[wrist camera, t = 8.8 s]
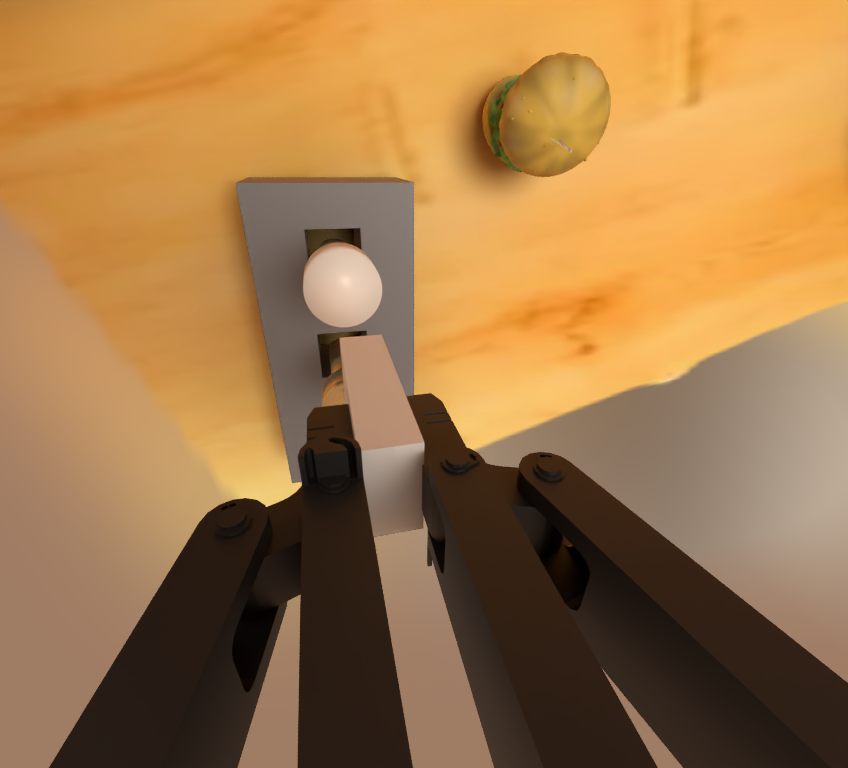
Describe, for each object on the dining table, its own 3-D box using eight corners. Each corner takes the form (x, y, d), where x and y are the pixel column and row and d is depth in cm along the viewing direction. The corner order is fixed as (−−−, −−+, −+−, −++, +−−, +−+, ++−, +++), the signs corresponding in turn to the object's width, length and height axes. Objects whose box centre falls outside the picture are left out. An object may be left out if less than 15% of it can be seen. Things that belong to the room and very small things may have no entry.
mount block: (294, 440, 46) (292, 483, 40) (248, 177, 33) (235, 182, 27) (401, 426, 48) (414, 464, 42) (396, 177, 36) (413, 182, 30)
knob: (308, 284, 32) (308, 330, 24) (301, 225, 30) (297, 251, 22) (365, 281, 33) (383, 324, 25) (361, 223, 31) (380, 249, 23)
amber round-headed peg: (322, 373, 36) (325, 438, 28) (316, 330, 34) (319, 387, 26) (368, 369, 37) (384, 431, 29) (365, 326, 35) (382, 380, 27)
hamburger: (564, 100, 36) (664, 80, 26) (526, 186, 39) (603, 198, 29) (489, 55, 33) (568, 11, 23) (453, 151, 36) (511, 150, 26)
